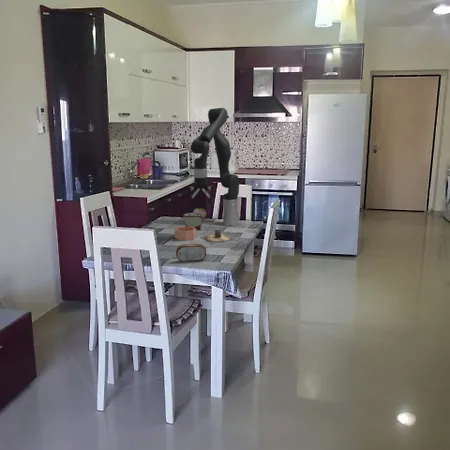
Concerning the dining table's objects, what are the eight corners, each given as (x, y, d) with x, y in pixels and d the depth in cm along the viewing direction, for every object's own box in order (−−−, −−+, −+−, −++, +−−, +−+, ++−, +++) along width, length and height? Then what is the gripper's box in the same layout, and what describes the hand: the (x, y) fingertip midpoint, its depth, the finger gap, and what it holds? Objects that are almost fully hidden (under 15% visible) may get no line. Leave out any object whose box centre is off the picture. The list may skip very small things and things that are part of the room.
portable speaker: (206, 259, 233) (205, 243, 231) (206, 261, 230) (206, 244, 228) (176, 260, 231) (175, 244, 229) (176, 262, 228) (176, 246, 226)
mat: (224, 234, 280) (224, 233, 280) (237, 241, 265) (237, 240, 265) (198, 237, 273) (198, 236, 272) (211, 244, 258) (211, 244, 258)
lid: (223, 234, 279) (223, 226, 277) (235, 239, 266) (235, 231, 264) (201, 237, 272) (200, 229, 271) (211, 243, 259) (211, 235, 258)
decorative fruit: (208, 220, 314) (208, 206, 312) (202, 223, 307) (202, 208, 305) (197, 219, 319) (197, 205, 317) (190, 221, 312) (190, 207, 310)
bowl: (191, 235, 279) (190, 225, 277) (198, 239, 269) (198, 229, 267) (172, 237, 274) (172, 227, 272) (180, 242, 263) (179, 232, 262)
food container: (204, 228, 295) (204, 212, 292) (202, 230, 289) (202, 215, 286) (185, 227, 296) (184, 212, 294) (183, 230, 290) (183, 214, 288)
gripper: (212, 175, 269) (213, 202, 273) (188, 175, 268) (188, 203, 272) (213, 177, 262) (213, 205, 266) (188, 177, 261) (188, 205, 265)
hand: (201, 204), depth 269 cm, fingers open, 8 cm apart
